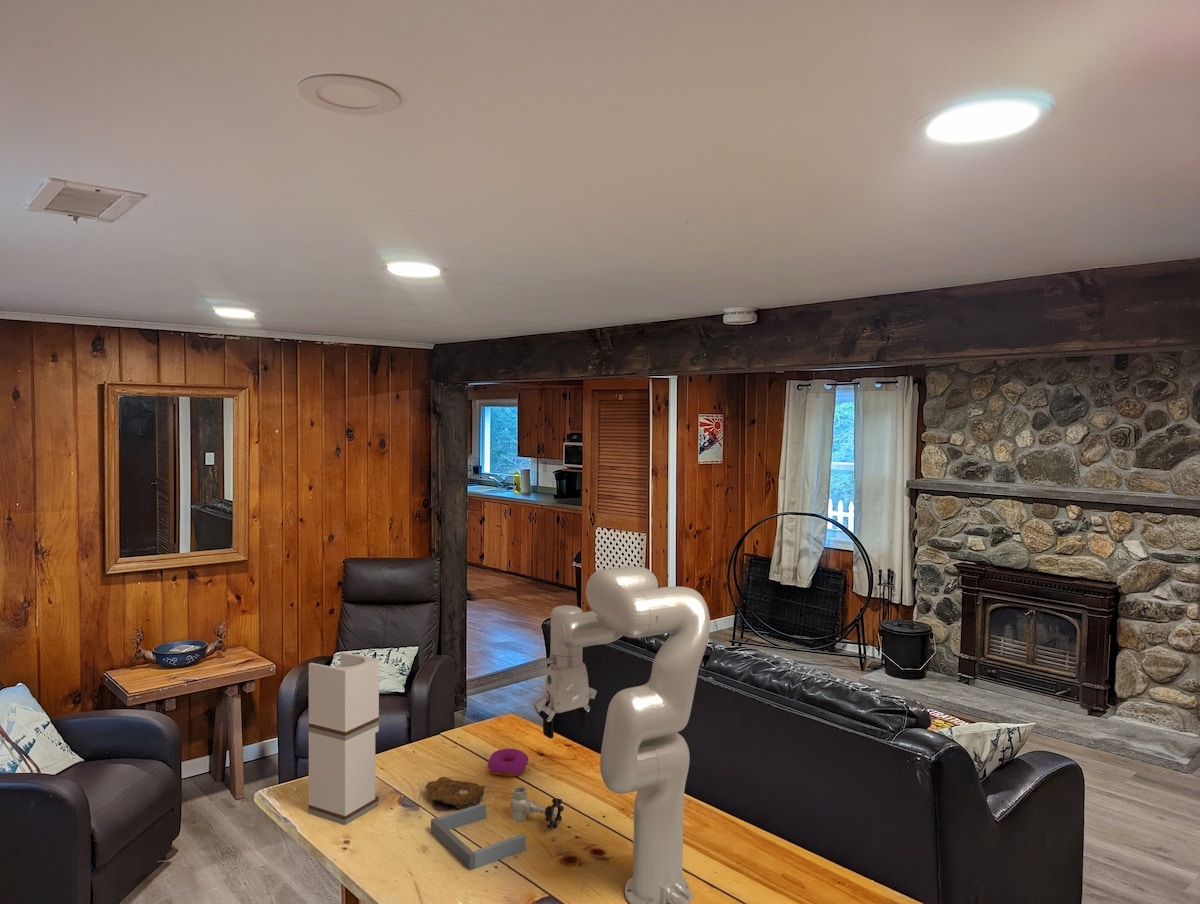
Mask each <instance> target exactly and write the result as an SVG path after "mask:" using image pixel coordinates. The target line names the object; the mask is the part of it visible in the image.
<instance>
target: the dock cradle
mask: <svg viewBox="0 0 1200 904" xmlns="http://www.w3.org/2000/svg"><path fill="white" fill-rule="evenodd" d="M486 818H487V804H486V803H485V802H482V803H481V802H480V803H477V805H475V806H472V807H469V808H465V809H461V810H459V809H458V810H456V811H452V812H450V813H447V814H444V815H440V816H437V817H434V818H430V834H431V835H432V836H433V837H435V838H436V839H437V840H438V841H439V842H440V843H441V844H442V845H443V846H444V847H445V848H446V849H447V850H448V851H449V852H450V853H451V854H452V855H453V856H454V857H455V858H456V859H457V860H458V861H459V862H461V863H462V864H463V865H464V866H465V868H466V869H468V871H472V870H474V869H477V868H480V867H483V866H486V865H488V864H491V863H494V862H496V861H499V860H501V859H504V858H507V857H510V856H513V855H515V854H519V853H521V852H524V851H526V839H527V837H526V835H525V834H524V833H521V834H518V835H515V836H512V837H510V838H506V839H504V840H500V841H498V842H495V843H492V844H490V845H487V846H484V847H481V848H478V849H475V850H471V848H469V846H467V845H466V843H464V842H463V841H462V840H461V839H460V838H459V837H458V836H456V834H454V833H453V832H452V829H456V828H459V827H462V826H464V825H469V824H472V823H474V822H477V821H480V820H483V819H486Z"/></svg>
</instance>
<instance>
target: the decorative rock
mask: <svg viewBox="0 0 1200 904" xmlns="http://www.w3.org/2000/svg"><path fill="white" fill-rule="evenodd" d="M425 788H426V790H427V793H428V794H429V795H428V796H429V798H430V799H429V800H434V801H437V802H441V803H443V804H447V805H448V804H449V805H452V806H455V807H456V808H457V809H458V811H459V810H462V809H465V808H469V807H472V806H475V805H478V804H481V798H483V797H484V794H485V792H484V790H485V789H486V786H485V785H479V784H478V783H476V782H471V781H461V780H454V779H451V778H450V777H447V776H441V777H439V778H437V780H433V781H431V780H430V781H428V782H427V784H426V785H425Z"/></svg>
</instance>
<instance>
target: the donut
mask: <svg viewBox="0 0 1200 904" xmlns="http://www.w3.org/2000/svg"><path fill="white" fill-rule="evenodd" d="M528 762H529V757H528V755H527V754H526V753H525V752H524V751H521V750H520V749H518V748H503V749H499V750H496V751H494V752H493V753H492V754H491V755H490V757H489V759H488V762H487V768H488V770H489V771H490V773H491V774H492V775H495V776H502V777H510V778H513V777H517V776H520V775H521V774H522V773H523V772H524V771H525V769H526V768H527V766H528V764H529V763H528Z"/></svg>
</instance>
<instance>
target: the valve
mask: <svg viewBox="0 0 1200 904" xmlns="http://www.w3.org/2000/svg"><path fill="white" fill-rule="evenodd" d="M511 792H512V793H511V794H512V796H511V797H512V798H511V800H510V808H511V810H512V812H511V814H512V815H511V817H512V818H511V820H513V821H516V822H522V821H526V820H527V818H528V815H533V814H534V813H537V814H541V815H543V814H544V816H545V818H544V820H545V821H546V822H548V823H547V824H546V828H547V829H550V830H553V829H554V830H555V829H557V828H558V826H559V825H558V822H562V820H563V816H562V815H561V814H562V812H564V809H565V807H564V806H563V805H562V803H563V799H562V798H558V797H557V798H552V800H551V803H553V804H551V805H547V807H546V806H543V805H541V804H537V801H536V800H534V799H529V797H528V787H525V786H522V785H521V786H515V787H513V788H512V791H511ZM555 808H557V809H555ZM553 818H554V819H553Z"/></svg>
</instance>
